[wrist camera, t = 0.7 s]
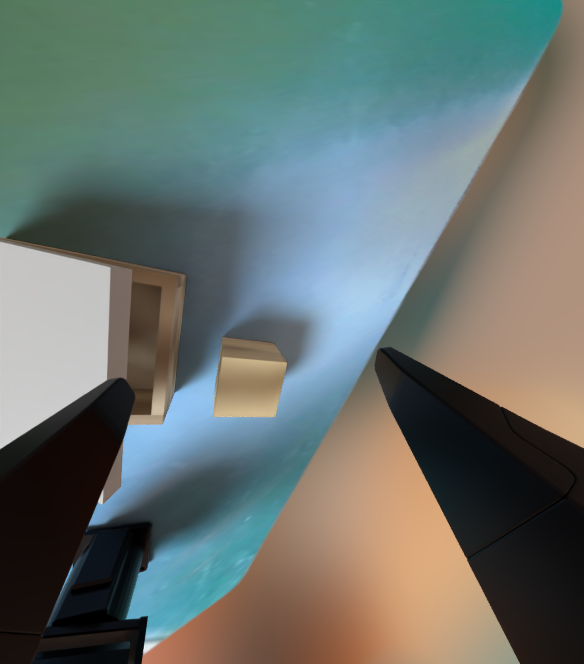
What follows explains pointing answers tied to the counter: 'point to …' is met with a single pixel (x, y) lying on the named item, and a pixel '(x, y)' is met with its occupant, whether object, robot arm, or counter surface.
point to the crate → (149, 335)
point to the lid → (58, 336)
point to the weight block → (248, 379)
